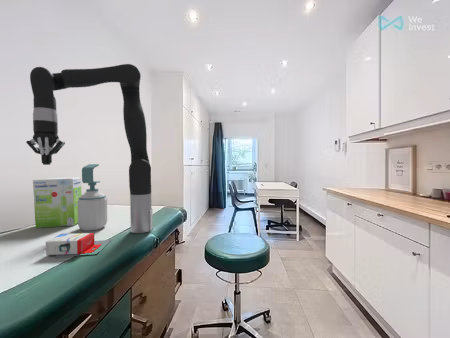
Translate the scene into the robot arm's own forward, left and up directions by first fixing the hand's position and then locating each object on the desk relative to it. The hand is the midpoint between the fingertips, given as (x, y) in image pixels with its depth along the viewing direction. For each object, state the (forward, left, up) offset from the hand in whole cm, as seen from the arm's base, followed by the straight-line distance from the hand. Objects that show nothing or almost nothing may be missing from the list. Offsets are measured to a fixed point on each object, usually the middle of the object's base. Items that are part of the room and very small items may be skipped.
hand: (46, 164), depth 87 cm
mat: (-18, +11, -31) cm, 37 cm away
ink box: (-8, +12, -28) cm, 32 cm away
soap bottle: (-10, -17, -31) cm, 37 cm away
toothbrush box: (+10, -28, -31) cm, 43 cm away
